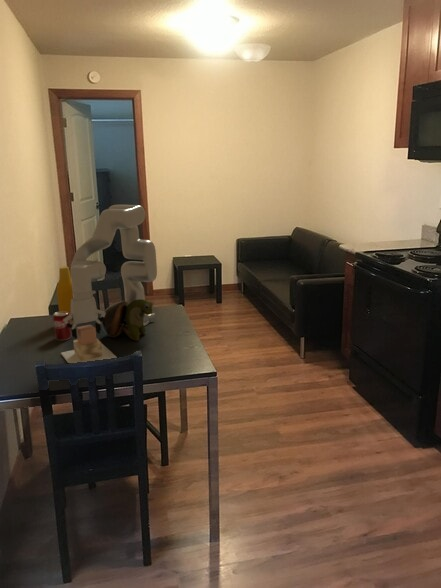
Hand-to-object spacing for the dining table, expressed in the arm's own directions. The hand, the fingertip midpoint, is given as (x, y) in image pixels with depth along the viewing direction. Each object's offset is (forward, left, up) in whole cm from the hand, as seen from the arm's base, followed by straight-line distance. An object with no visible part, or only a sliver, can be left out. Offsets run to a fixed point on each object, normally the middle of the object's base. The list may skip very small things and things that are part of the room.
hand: (86, 334), depth 197 cm
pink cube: (0, 0, -3) cm, 3 cm away
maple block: (0, 0, -9) cm, 9 cm away
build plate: (0, 0, -10) cm, 10 cm away
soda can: (+3, -28, -10) cm, 30 cm away
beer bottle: (-5, -47, -10) cm, 48 cm away
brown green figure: (-23, -13, -10) cm, 28 cm away
